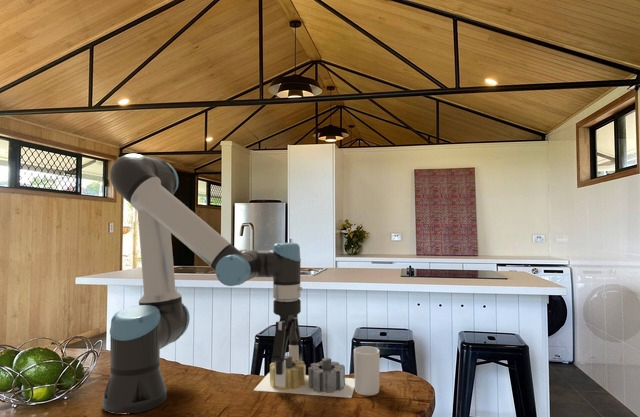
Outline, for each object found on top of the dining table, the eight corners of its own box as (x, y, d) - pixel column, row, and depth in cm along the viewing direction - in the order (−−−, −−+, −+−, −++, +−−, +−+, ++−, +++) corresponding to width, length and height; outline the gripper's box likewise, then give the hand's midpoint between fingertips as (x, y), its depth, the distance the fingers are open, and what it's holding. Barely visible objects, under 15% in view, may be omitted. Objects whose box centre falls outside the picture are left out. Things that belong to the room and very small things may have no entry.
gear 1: (265, 388, 115) (265, 369, 115) (276, 375, 124) (276, 357, 124) (300, 391, 113) (300, 371, 113) (308, 377, 122) (308, 359, 122)
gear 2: (312, 394, 111) (312, 374, 111) (306, 380, 120) (306, 362, 120) (348, 391, 112) (348, 371, 113) (339, 377, 122) (339, 359, 122)
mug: (378, 402, 109) (378, 354, 109) (352, 400, 110) (351, 353, 111) (382, 387, 119) (381, 343, 119) (358, 385, 120) (357, 342, 120)
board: (253, 395, 114) (253, 363, 114) (268, 377, 126) (268, 348, 126) (351, 403, 108) (351, 369, 109) (357, 384, 121) (356, 353, 121)
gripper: (287, 308, 106) (288, 395, 106) (310, 291, 130) (310, 362, 130) (258, 307, 107) (259, 393, 107) (286, 291, 132) (286, 360, 131)
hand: (287, 376), depth 118 cm, fingers open, 13 cm apart
